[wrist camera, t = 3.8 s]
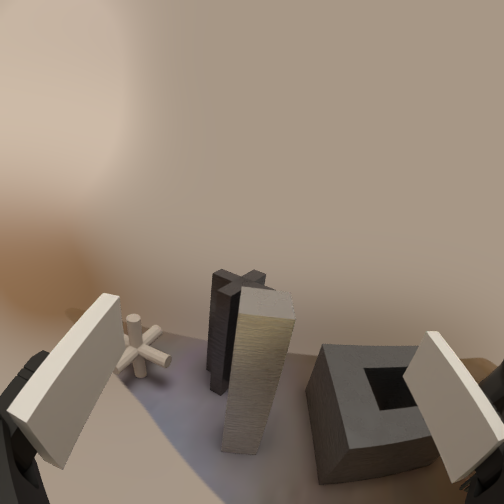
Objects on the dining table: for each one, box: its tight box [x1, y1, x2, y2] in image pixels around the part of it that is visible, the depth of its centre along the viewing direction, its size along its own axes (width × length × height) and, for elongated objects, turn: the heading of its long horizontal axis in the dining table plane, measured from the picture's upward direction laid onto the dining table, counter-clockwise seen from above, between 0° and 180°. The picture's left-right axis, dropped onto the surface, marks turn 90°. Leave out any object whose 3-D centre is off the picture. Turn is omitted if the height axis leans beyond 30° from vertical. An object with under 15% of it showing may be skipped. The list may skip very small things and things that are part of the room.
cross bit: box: [206, 269, 276, 396], centre depth 36 cm, size 8×8×16 cm
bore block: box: [306, 344, 440, 485], centre depth 29 cm, size 16×16×9 cm
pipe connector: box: [113, 314, 172, 378], centre depth 34 cm, size 10×10×10 cm
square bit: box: [221, 286, 296, 455], centre depth 25 cm, size 4×4×20 cm
